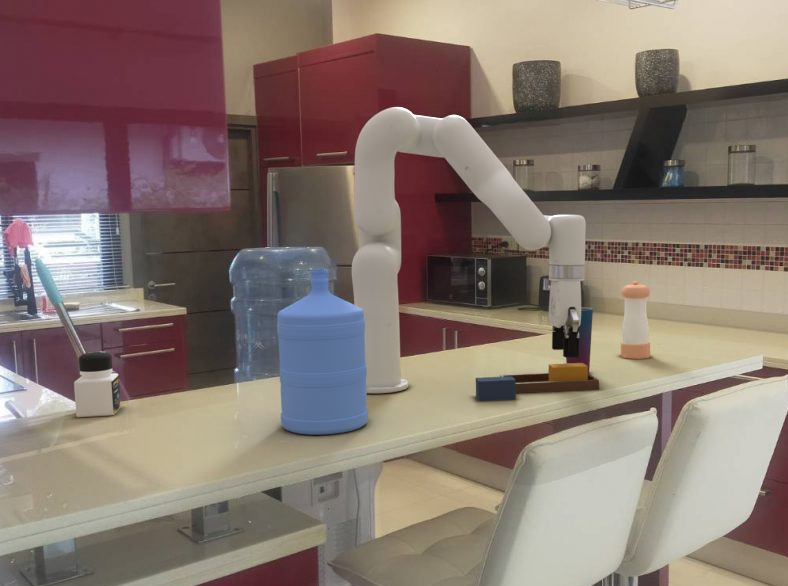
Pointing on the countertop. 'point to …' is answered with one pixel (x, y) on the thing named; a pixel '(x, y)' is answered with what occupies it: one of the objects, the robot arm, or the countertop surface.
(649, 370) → the countertop surface
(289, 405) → the water jug
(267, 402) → the countertop surface
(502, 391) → the dark blue block
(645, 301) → the pepper shaker
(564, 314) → the robot arm
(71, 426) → the countertop surface
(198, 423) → the countertop surface
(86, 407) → the medicine bottle
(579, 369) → the orange rectangular block
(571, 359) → the cup
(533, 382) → the tray
